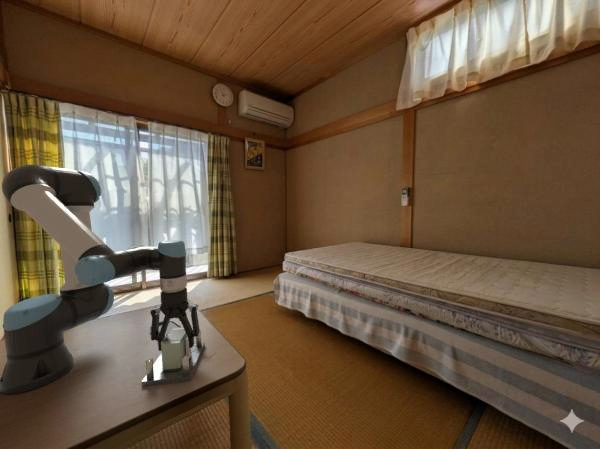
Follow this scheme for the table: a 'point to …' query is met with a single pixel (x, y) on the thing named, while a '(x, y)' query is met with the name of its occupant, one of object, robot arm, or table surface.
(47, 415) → the table surface
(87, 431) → the table surface
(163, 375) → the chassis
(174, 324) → the gaming console
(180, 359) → the pale green block
